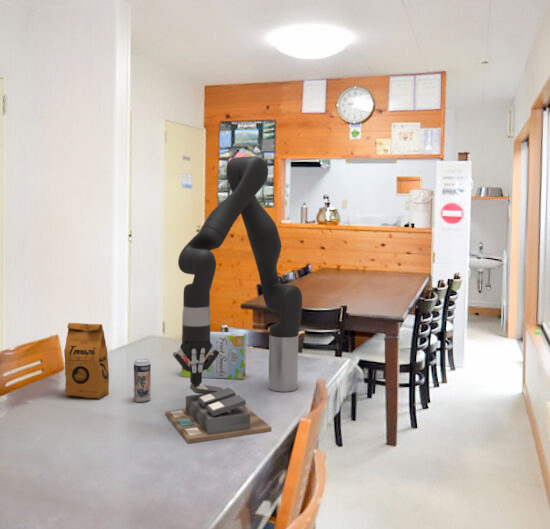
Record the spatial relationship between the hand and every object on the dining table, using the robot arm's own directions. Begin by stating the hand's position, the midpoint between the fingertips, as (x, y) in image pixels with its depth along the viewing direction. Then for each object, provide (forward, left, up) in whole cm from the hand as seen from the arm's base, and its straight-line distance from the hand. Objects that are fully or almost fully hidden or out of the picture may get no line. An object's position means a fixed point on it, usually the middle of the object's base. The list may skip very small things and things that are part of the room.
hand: (195, 385), depth 165 cm
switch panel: (+7, +4, -9) cm, 12 cm away
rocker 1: (0, +3, -3) cm, 5 cm away
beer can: (-19, -10, -9) cm, 23 cm away
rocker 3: (+14, +4, -3) cm, 15 cm away
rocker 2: (+7, +4, -3) cm, 9 cm away
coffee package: (-30, -24, -9) cm, 40 cm away
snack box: (-36, +18, -9) cm, 41 cm away
